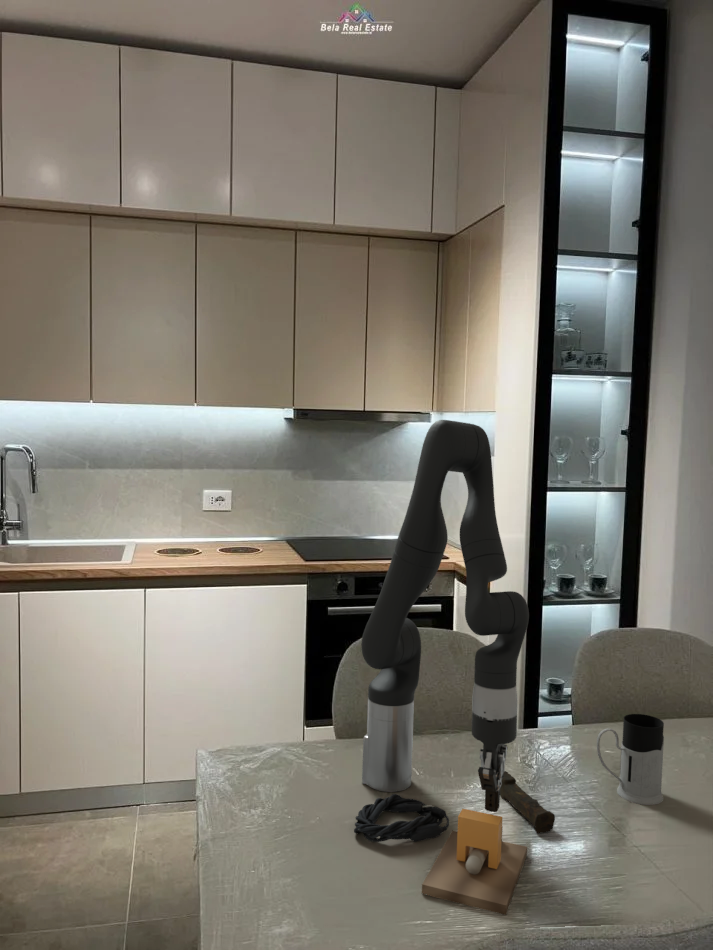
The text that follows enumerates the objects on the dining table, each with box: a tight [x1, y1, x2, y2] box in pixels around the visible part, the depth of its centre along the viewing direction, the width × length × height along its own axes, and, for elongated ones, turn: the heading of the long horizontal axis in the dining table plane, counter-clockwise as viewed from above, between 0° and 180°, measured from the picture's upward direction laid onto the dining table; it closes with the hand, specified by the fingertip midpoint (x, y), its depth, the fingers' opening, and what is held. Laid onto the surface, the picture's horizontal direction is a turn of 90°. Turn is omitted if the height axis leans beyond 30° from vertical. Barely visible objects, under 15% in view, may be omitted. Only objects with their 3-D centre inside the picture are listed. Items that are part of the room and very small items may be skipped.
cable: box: [353, 793, 450, 843], centre depth 142 cm, size 17×14×4 cm
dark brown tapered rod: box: [500, 770, 556, 834], centre depth 150 cm, size 19×4×5 cm, turn 15°
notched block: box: [456, 808, 503, 869], centre depth 129 cm, size 7×3×7 cm, turn 68°
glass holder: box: [596, 713, 665, 806], centre depth 157 cm, size 9×14×15 cm, turn 102°
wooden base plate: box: [421, 825, 528, 916], centre depth 128 cm, size 13×18×4 cm
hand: (492, 809), depth 135 cm, fingers closed
